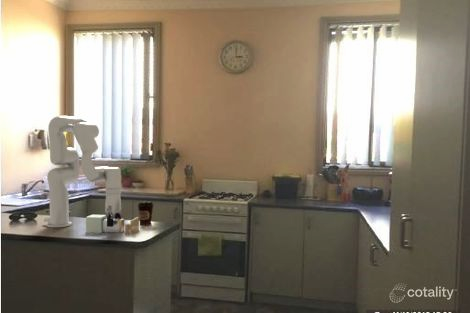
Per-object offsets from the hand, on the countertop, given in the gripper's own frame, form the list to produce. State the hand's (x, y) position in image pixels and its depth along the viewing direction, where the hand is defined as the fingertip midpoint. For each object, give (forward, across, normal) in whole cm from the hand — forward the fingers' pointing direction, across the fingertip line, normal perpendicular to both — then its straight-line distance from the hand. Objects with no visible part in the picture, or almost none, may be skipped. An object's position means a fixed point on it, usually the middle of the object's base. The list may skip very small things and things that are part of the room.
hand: (114, 224), depth 216 cm
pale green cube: (+4, 0, -10) cm, 10 cm away
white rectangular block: (+4, 0, -4) cm, 5 cm away
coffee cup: (+4, -18, +10) cm, 21 cm away
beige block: (+4, 0, +10) cm, 10 cm away
